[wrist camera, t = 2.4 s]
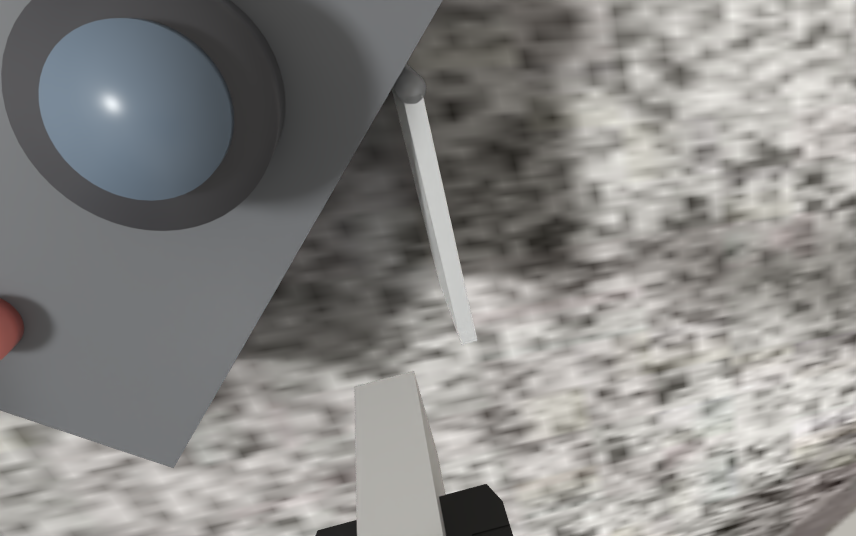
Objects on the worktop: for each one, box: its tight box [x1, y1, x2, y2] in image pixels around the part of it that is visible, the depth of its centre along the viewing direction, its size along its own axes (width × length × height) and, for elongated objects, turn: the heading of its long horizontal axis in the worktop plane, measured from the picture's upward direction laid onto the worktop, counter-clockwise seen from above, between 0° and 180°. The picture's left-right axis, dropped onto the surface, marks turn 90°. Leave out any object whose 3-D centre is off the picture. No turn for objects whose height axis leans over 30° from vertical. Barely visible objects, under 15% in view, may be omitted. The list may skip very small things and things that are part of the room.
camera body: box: [0, 0, 443, 468], centre depth 18 cm, size 18×10×10 cm, turn 148°
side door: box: [392, 64, 477, 345], centre depth 22 cm, size 10×1×6 cm, turn 13°
